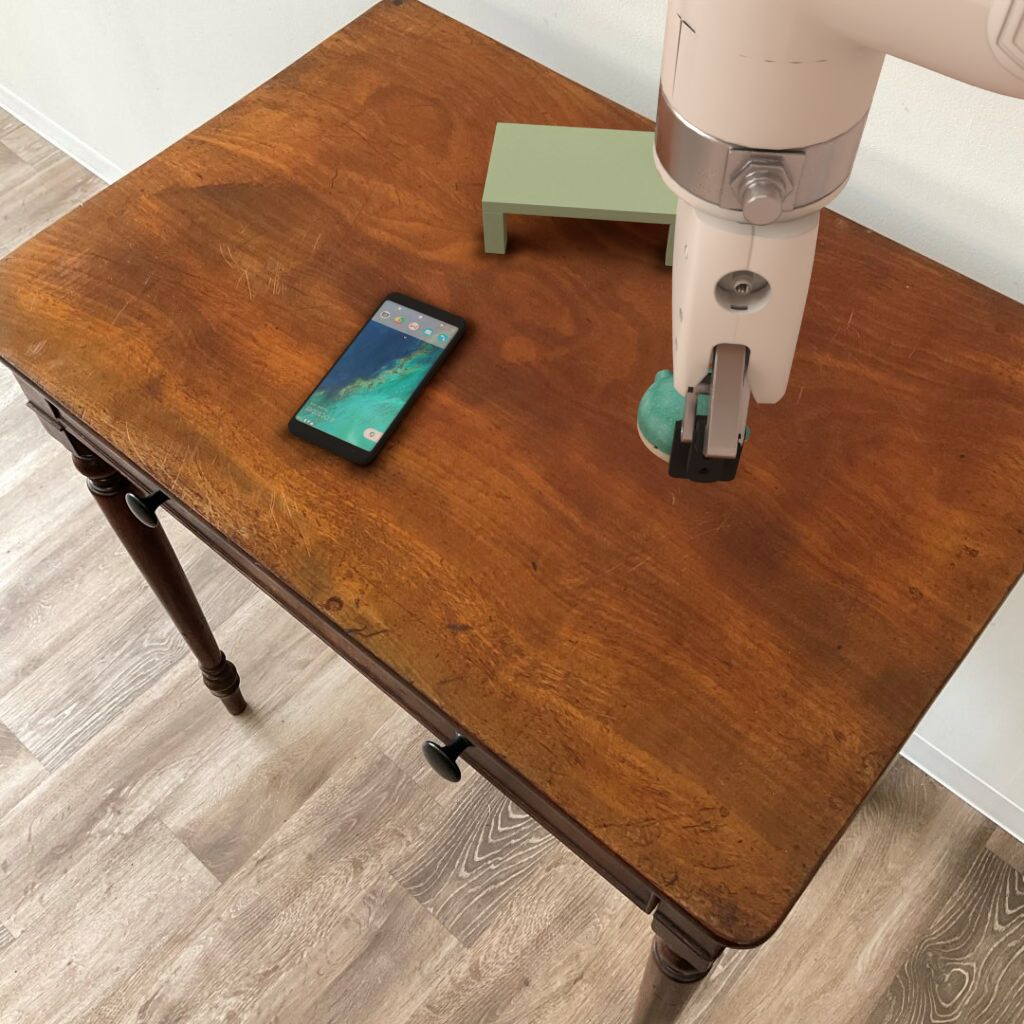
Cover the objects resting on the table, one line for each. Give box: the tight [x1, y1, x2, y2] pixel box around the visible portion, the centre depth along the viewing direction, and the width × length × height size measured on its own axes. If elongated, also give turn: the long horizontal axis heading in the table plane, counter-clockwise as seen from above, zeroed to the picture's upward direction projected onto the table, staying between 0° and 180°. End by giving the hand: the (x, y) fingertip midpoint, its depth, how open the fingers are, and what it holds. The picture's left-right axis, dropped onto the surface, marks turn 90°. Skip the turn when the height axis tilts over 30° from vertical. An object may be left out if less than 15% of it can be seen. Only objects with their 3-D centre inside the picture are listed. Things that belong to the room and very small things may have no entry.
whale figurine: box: [636, 367, 751, 463], centre depth 55 cm, size 6×7×4 cm
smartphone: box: [287, 291, 468, 465], centre depth 82 cm, size 7×1×15 cm
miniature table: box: [481, 122, 678, 267], centre depth 88 cm, size 16×9×6 cm, turn 83°
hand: (702, 409), depth 56 cm, fingers closed on whale figurine, 7 cm apart
